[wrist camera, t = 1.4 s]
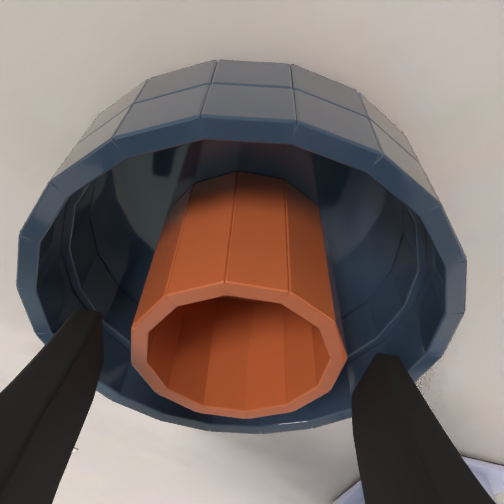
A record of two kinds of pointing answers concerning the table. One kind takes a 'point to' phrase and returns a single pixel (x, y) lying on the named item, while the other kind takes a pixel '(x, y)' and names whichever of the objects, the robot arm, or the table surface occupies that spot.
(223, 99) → the serving bowl
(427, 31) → the table surface
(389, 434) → the robot arm
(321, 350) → the orange hollow tube
